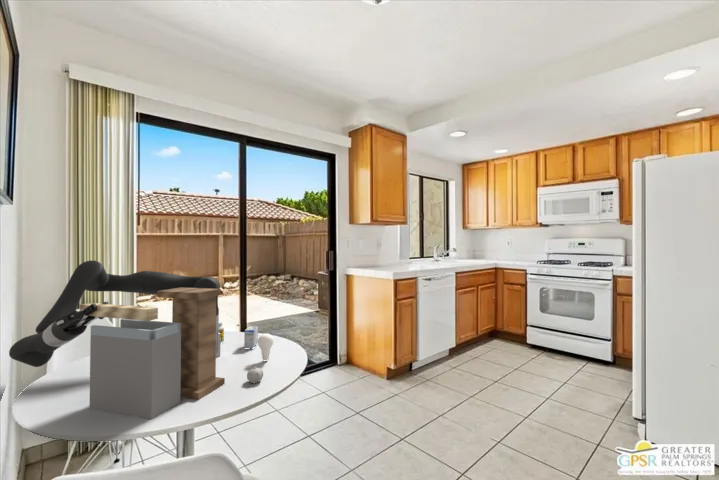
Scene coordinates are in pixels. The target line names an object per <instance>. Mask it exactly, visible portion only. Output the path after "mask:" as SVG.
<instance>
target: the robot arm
mask: <svg viewBox="0 0 719 480" xmlns="http://www.w3.org/2000/svg"><path fill="white" fill-rule="evenodd" d="M69 278H70V279H69V280H68V282H67V284H66V285H65V287H64V288H63V290H62V292H61V294H60V295H59V297H58V299H57V300H56V302H55V303H54V304H53V305H52V307H51V308H50V309H49V311H48V312H47V313H46V315H45V316H44V317H43V318H42V319H41V321H40V322H39V323H38V325H37V326H36V327H35V332H36V333H34V334H31V335H27V336H25V337H23V338H21V339H19V340H17V341H16V342H15V343H13V344H12V345H11V347H10V349H9V351H8V355H9V357H10V358H11V359H12V360H14V361H17V362H20V363H23V364H25V365H28V366H31V367H34V368H38V367H42V366H44V365H46V364H47V363H48V362H49V361H50V360H51V358H52V357H53V355H54V352H55V351H56V350H57V349H59V348H61V347H62V346H64V345H66V344H68V343H70V342H71V341H73V340H74V339H76V338H78V337H79V336H81V335H82V334H83V333H84V332H85V331H86V330H87V328H88V325H90V324H91V323H92V322H94V321H95V320H98V319H99V320H103V319H105V317H96V316H88V315H90V314H92V313H93V312H95V311H96V310H97V307H96V304H95V303H96V302H93V303H94V304H91V305H90V306H88V307H87V308H85V309H81V310H80V309H79V310H77V309H78V306H79V305H80V304H79V303H80V301H81V298H82V297H83V294H85V291H88V292H121V293H134V294H136V293H137V294H146V295H153V296H154V295H155V296H156V295H157V291H161V290H168V289H174V288H181V287H184V288H209V289H221V283H220V282H219V280H218V279H217V278H215V277H213V276H189V275H188V276H185V275H181V274H174V273H169V272H161V271H153V270H152V271H151V270H142V271H138V272H137V271H136V272H133V273H130V274H125V275H119V274H113V273H112V274H111V273H107V271H106V269H105V267H104V265H103V263H101V262H100V261H97V260H93V259H92V260H87V261H83V262H81V263H80V264H78V266H77V267H76V268H75V270H74V271H73V273H72V274H71V276H70V277H69ZM218 300H219V295H218V296H216V358H217V357H220V356H221V343H220V333H219V322H220V320H219V316H220V315H219V313H220V308H219V302H218ZM101 304H110V303H109V301H104V302H102V303H101Z"/></svg>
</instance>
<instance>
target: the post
mask: <svg viewBox="0 0 719 480" xmlns="http://www.w3.org/2000/svg"><path fill="white" fill-rule="evenodd" d="M221 295H222V289H221V288H220V289H209V288H184V287H181V288H174V289H168V290H161V291H157V296H156V297H157V298H159V299H160V298H164V299H172V313H171V314H172V315H171V316H172V317H171V318H172V319H171V322H174V323H181V384H180V398H185V399H191V400H192V399H193V400H199V401H200V400H201V399H203V398H205V397H206V396H207V395H209V394H211V393H212V392H214V391H216V390H217V389H219V388H220V386H221V387H222V386H224V385H225V382H226V379H225V378H224V377H220V376H218V377H217V376H216V372H217V371H216V370H217V369H216V367H217V365H216V364H217V362H216V361H217V357H216V296H218V297H219V296H221ZM223 384H224V385H223Z"/></svg>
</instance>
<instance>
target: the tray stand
mask: <svg viewBox="0 0 719 480" xmlns="http://www.w3.org/2000/svg"><path fill="white" fill-rule="evenodd" d="M119 322H120V323H119V324H120V325H119V326H108V325H96V324H95V325H94V324H93V325H90V349H89V353H90V354H89V356H90V358H89V409H90V410H94V411H101V412H106V413H112V414H118V415H125V416H130V417H135V418H136V417H138V418H141V419H148V420H153V419H154V418H156V417H158V416H160V415H162V414H163V413H165V412H166V411H168V410H170V409H172V408H173V407H175V406H177V405H179V404H181V397H180V384H181V323H174V322H172V321H171V322H170V321H158V320H157V321H156V320H150V321H142V320H131V319H120V320H119Z"/></svg>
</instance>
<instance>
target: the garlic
mask: <svg viewBox="0 0 719 480" xmlns="http://www.w3.org/2000/svg"><path fill="white" fill-rule="evenodd" d="M246 377H247V380H248V382H250V383H252V384H257V383H256V382H259V383H260V382H261V381H262V379H263V377H264V370H263V369H262V368H260V367H256V366H255V365H251V366H250V370H248V371H247V374H246Z"/></svg>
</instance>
